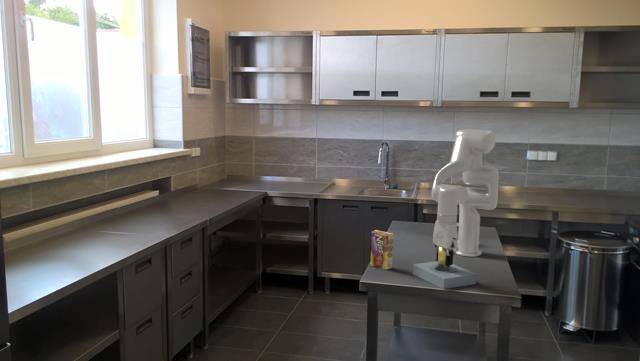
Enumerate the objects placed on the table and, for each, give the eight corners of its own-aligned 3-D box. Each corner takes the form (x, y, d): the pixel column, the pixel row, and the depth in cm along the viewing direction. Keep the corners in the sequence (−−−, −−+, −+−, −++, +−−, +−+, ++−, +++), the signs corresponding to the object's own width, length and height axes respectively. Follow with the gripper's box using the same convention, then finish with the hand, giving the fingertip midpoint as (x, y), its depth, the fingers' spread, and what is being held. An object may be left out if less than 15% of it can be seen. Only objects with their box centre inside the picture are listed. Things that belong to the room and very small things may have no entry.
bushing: (435, 264, 213) (436, 245, 212) (445, 263, 215) (446, 244, 214) (443, 268, 209) (444, 248, 208) (453, 267, 211) (454, 247, 210)
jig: (412, 273, 218) (412, 264, 218) (443, 269, 225) (444, 260, 225) (443, 289, 201) (443, 278, 200) (476, 283, 207) (476, 274, 207)
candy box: (392, 268, 226) (394, 233, 223) (386, 270, 222) (388, 234, 220) (376, 263, 232) (377, 229, 229) (370, 265, 228) (371, 231, 226)
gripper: (426, 215, 215) (423, 258, 218) (453, 223, 200) (450, 270, 203) (440, 214, 219) (438, 256, 221) (468, 222, 203) (465, 268, 206)
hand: (444, 262), depth 212 cm, fingers closed on bushing, 5 cm apart
